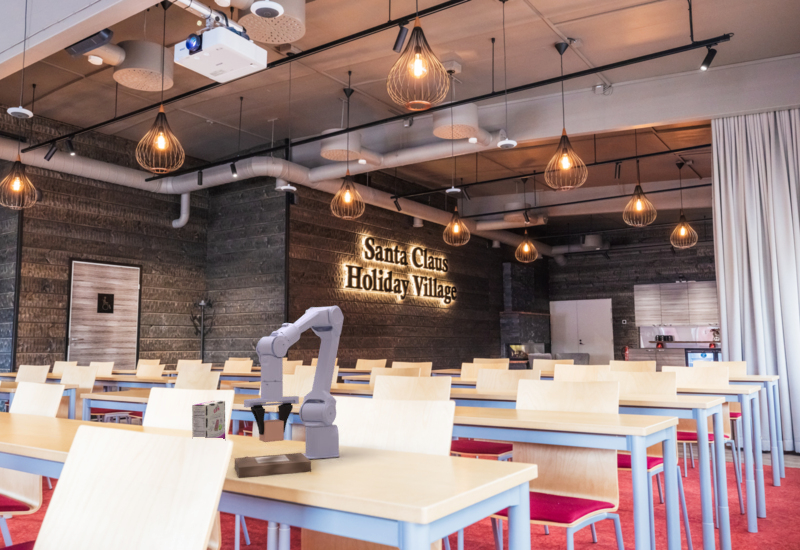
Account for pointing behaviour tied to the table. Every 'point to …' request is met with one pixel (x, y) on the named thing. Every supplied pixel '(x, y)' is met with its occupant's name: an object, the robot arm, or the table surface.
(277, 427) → the terracotta cube
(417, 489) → the table surface
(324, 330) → the robot arm
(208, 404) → the candy bar box
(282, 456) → the walnut plinth
